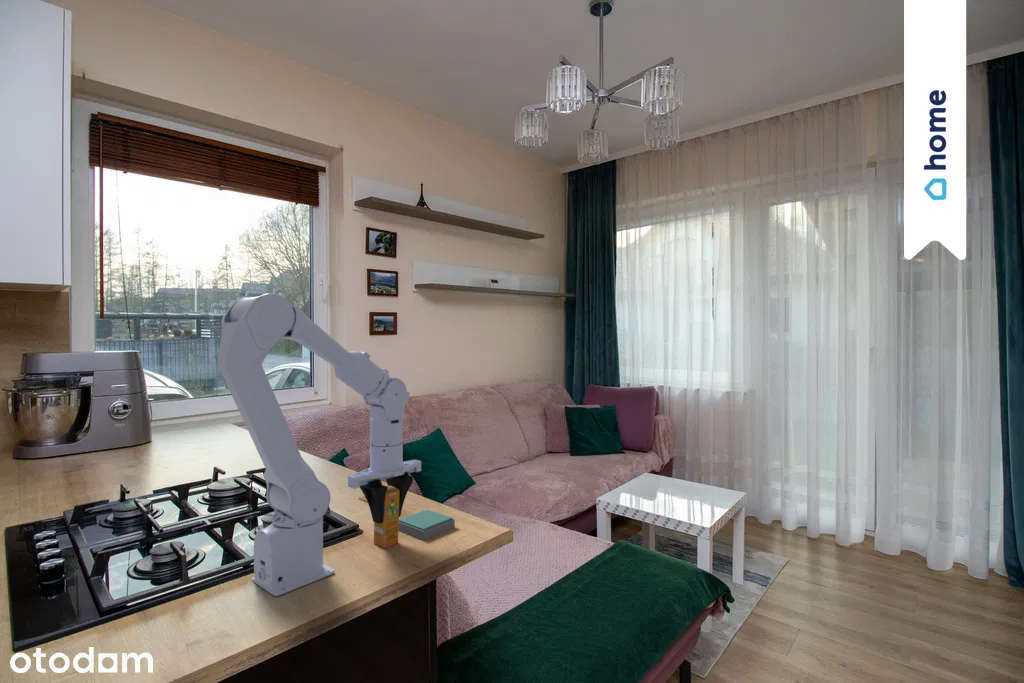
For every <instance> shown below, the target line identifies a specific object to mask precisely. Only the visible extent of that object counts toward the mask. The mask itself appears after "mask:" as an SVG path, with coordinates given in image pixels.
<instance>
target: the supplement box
mask: <svg viewBox="0 0 1024 683" xmlns="http://www.w3.org/2000/svg"><path fill="white" fill-rule="evenodd" d="M386 486H387V487H388V488H387V491H386V495H385V500H384V519H383V523H380V524H379V523H376V522H374V521H373V523H374V524H373V525H374V527H373V533H374V534H373V544H374V545H376V546H378V547H380V548H383V549H387V548H388V547H391V546H394V545H396V544H398V543H399V519H400V517H399V494H400V490H399V489H397V488H395V487H393V486H390V485H389V486H388V485H386Z"/></svg>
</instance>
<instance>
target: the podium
mask: <svg viewBox="0 0 1024 683" xmlns="http://www.w3.org/2000/svg"><path fill="white" fill-rule="evenodd" d="M455 521H456V520H455V518H453V517H451V516H448V515H446V514H443V513H440V512H437V511H435V510H434V511H433V510H431V509H425V510H422V511H419V512H416V513H413V514H410V515H407V516H405V517H402V518H399V530H398V532H402V533H404V534H406V535H409V536H412V537H414V538H417V539H419V540H421V541H425V540H427V539H430V538H432V537H435V536H437V535H439V534H442V533H444V532H446V531H450V530H451V529H454V528H455V527H456V525H455V524H456V523H455Z"/></svg>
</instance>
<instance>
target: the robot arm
mask: <svg viewBox="0 0 1024 683" xmlns="http://www.w3.org/2000/svg"><path fill="white" fill-rule="evenodd" d="M220 323H221V326H222V331H221V339H220V341H219V342H220V343H219V344H220V345H219V348H218V349H219V350H218V355H217V365H218V369H219V370H220V372H221V375H222V377H223V379H224V381H225V383H226V386H227V387H228V390H229V392H230V394H231V396H232V398H233V401H234V402H235V405H236V408H237V410H238V412H239V413H240V416H241V418H242V420H243V422H244V424H245V427H246V429H247V431H248V433H249V435H250V437H251V440H252V441H253V444H254V446H255V448H256V451H257V453H258V455H259V457H260V459H261V461H262V463H263V466H264V468H265V470H264V474H263V479H264V481H265V484H266V493H265V494H266V500H267V503H268V505H269V506H270V507H271V508H272V509H273V510H274V514H273V516H272V523H270V525H268V526H266V527H264V528H262V529H260V530H258V531H256V532H255V534H254V539H253V576H252V578H251V581H252V582H253V583H255V584H257V586H259V587H261V588H262V589H263V590H265V591H266V592H267V593H269V594H270V595H272V596H274V597H279V596H282V595H284V594H286V593H289V592H291V591H294V590H296V589H298V588H301V587H304V586H307V585H308V584H311V583H314V582H316V581H318V580H321V579H324V578H326V577H328V576H332V575H333V574H335V569H334V568H332V567H330V566H328V565H326V564H325V563H324V529H323V528H324V522H323V521H324V518H323V517H324V515H325V514H326V513H327V512H328V510H329V507H330V504H331V492H330V489H329V488H328V486H327V485H326V484H325V483H324V482H322V481H320V480H319V478H317V476H316V473H315V471H314V470H313V469H312V467H311V466H310V465H309V464H308V463H307V462H306V461H305V460H304V458H303V456H302V455H301V452H300V450H299V448H298V445H297V443H296V441H295V438H294V436H293V433H292V432H291V429H290V427H289V425H288V422H287V419H286V418H285V416H284V413H283V411H282V409H281V406H280V404H279V402H278V399H277V397H276V394H275V392H274V391H273V388H272V385H271V383H270V381H269V379H268V376H267V374H266V372H265V369H264V368H263V363H264V361H265V359H266V357H267V355H268V354H269V352H270V350H271V349H272V347H273V346H274V345H276V343H278V342H279V341H280V340H282V339H283V340H289V341H290V340H291V341H295V342H297V343H298V344H299V345H301V346H303V347H304V348H305V349H307V350H309V351H310V352H311V353H314V354H315V355H316V356H318V357H319V358H321V359H323V361H325V362H327V363H328V364H330V365H331V366H332V367H333V368H334V374H335V378H337V379H338V380H339V381H341V382H342V383H343V384H345V385H346V386H347V387H349V388H350V389H351V390H353V391H355V392H356V393H357V394H359V395H360V396H362V400H363V401H364V402H365V404H366V405H367V406H369V465H370V467H369V468H368V469H366V468H365V469H363V470H360V471H359V472H355V473H353V474H350V475H347V487H348V488H350V489H354V490H356V489H360V490H361V492H362V493H363V495H364V496H365V497H366V499H367V502H368V503H367V502H366V503H367V504H368V507H369V510H370V513H371V519H372V521H373V523H374V522H376V523H379V524H380V523H383V519H384V500H385V495H386V491H387V488H388V487H387V486H389V485H390V486H393V487H395V488H397V489H399V490H400V494H399V518H400V517H401V514H402V511H403V510H402V509H403V506H404V502H405V499H406V497H407V494H408V491H409V490H410V487H411V486H412V484H413V482H414V476H412V475H409V474H411V473H414V472H415V473H419V472H422V461H421V460H418V459H410V460H405V461H404V460H403V459H404V458H403V452H404V450H403V448H404V447H403V443H404V442H403V438H404V437H403V436H404V435H403V432H404V431H403V430H404V429H403V427H404V426H403V425H404V424H403V422H404V421H403V417H404V415H405V407H406V406H407V404H408V402H409V400H410V392H409V391H408V390H407V387H406V384H405V383H404V381H403V380H402V379H400V378H397V377H390V374H389V370H388V369H386V368H381V367H380V366H378V365H377V364H376V363H375V362H374V361H372V360H371V359H370V358H371V354H369V353H368V352H367V351H359V350H350V351H348V350H347V349H346V348H344V347H343V346H342V345H341V344H340V343H339V342H337V341H336V340H335V338H333V337H332V336H331V335H330V334H328V333H327V332H326V331H325V330H323V329H322V328H321V327H320V326H319V325H317V323H316V322H314V321H313V319H311V318H310V317H308V315H306V313H304V311H303V310H302V309H301V308H299V307H298V306H296V305H295V304H291V303H290V302H289V300H288V299H286V298H285V297H284V296H281V295H279V294H276V293H264V294H261V295H259V296H253V297H251V296H246V297H241V298H239V299H237V300H235V301H234V302H233V303H232V304H231V305H230V306H229V308H228V309H227V311H226V312H225V313H224V315H223V317H222V318H221V322H220ZM381 480H382V481H384V480H385V481H386V484H387V485H383V483H380V481H381Z"/></svg>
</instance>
